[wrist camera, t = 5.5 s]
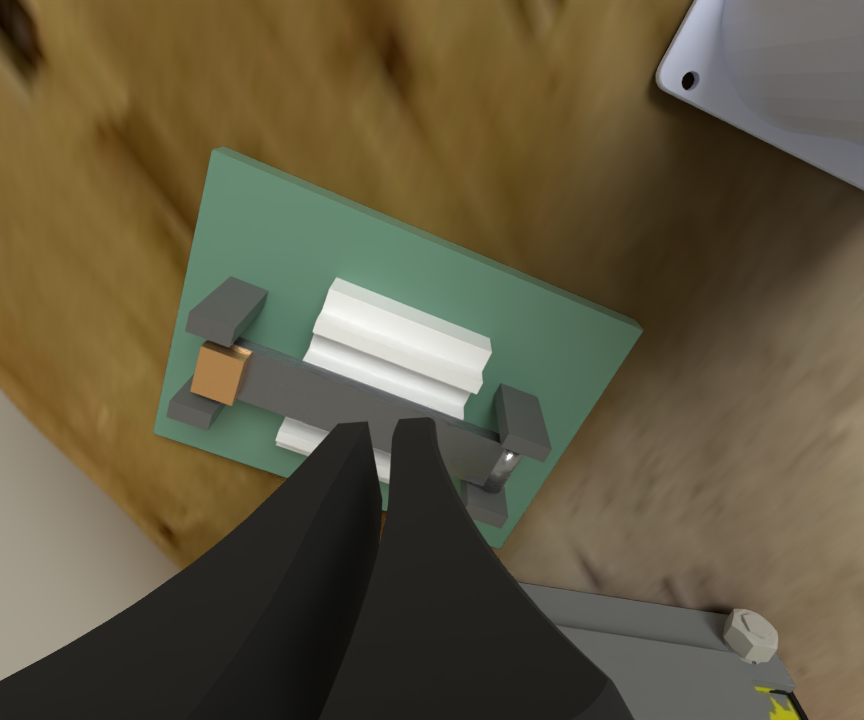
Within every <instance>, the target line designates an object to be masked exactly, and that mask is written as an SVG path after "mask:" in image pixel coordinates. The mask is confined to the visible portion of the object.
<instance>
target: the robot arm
mask: <svg viewBox="0 0 864 720" xmlns="http://www.w3.org/2000/svg"><path fill="white" fill-rule="evenodd" d="M688 72H691V73H692V74H693V75H694V83H693V85H692V86H691V87H690V89H688V90H685V89H684V88H683V87H682V83H681V82H682V79H683V76H684V75H685V74H686V73H688ZM656 83H657V85H658V87H659V88H660V89H661V90H663V91H664V92H666V93H668V94H670V95H672V96H674V97H676V98H678V99H680V100H682V101H684V102H686V103H688V104H690V105H692V106H694V107H696V108H698V109H700V110H702V111H704V112H706V113H708V114H710V115H712V116H715V117H717V118H719V119H721V120H723V121H725V122H727V123H729V124H731V125H733V126H735V127H737V128H739V129H741V130H743V131H745V132H747V133H749V134H751V135H753V136H755V137H757V138H759V139H761V140H763V141H765V142H767V143H769V144H771V145H773V146H775V147H777V148H779V149H781V150H783V151H785V152H787V153H789V154H791V155H793V156H795V157H797V158H799V159H801V160H803V161H805V162H807V163H809V164H811V165H813V166H815V167H817V168H819V169H821V170H823V171H825V172H827V173H829V174H831V175H833V176H835V177H837V178H839V179H841V180H843V181H845V182H847V183H849V184H851V185H853V186H855V187H857V188H859V189H861V190H863V191H864V0H694V1H693V3H692V5H691V7H690V8H689V10H688V12H687V14H686V16H685V18H684V20H683V22H682V23H681V25H680V27H679V29H678V31H677V33H676V35H675V36H674V38H673V40H672V42H671V44H670V46H669V48H668V49H667V51H666V53H665V55H664V57H663V59H662V61H661V63H660V64H659V66H658V69H657V72H656ZM382 502H383V500H382V494H381V489H380V484H379V478H378V473H377V467H376V462H375V457H374V451H373V446H372V441H371V435H370V430H369V424H368V421H365V422H351V423H338V424H337V425H336V426H335V427H334V428H333V430H332V431H331V432H330V433H329V434H328V435H327V436H326V437H325V438H324V439H323V441H322V442H321V443H320V444H319V445H318V446H317V447H316V448H315V449H314V450H313V452H312V453H311V454H310V455H309V456H308V457H307V458H306V459H305V460H304V462H303V463H302V464H301V465H300V466H299V467H298V468H297V469H296V470H295V471H294V472H293V473H292V474H291V475H290V477H289V478H288V479H287V480H286V481H285V482H284V483H283V484H282V485H281V486H280V487H279V488H278V489H277V490H276V491H275V492H274V493H273V494H272V495H271V496H270V497H269V498H267V499H266V500H265V501H264V502H263V503H262V504H261V505H260V506H259V507H258V508H257V509H256V510H255V511H254V512H253V513H252V514H251V515H250V516H249V517H248V518H247V519H246V520H244V521H243V522H242V523H241V524H240V525H239V526H238V527H237V528H235V529H234V530H233V531H232V532H231V533H229V534H228V535H227V536H226V537H225V538H224V539H222V540H221V541H220V542H219V543H217V544H216V545H215V546H214V547H212V548H211V549H210V550H209V551H207V552H206V553H205V554H204V555H202V556H201V557H200V558H199V559H197V560H196V561H195V562H193V563H192V564H191V565H189V566H188V567H186V568H185V569H184V570H182V571H181V572H179V573H178V574H176V575H175V576H174V577H172V578H171V579H169V580H168V581H167V582H165V583H164V584H162V585H161V586H160V587H158V588H157V589H155V590H154V591H152V592H151V593H149V594H148V595H147V596H145V597H144V598H142V599H141V600H139V601H138V602H136V603H135V604H133V605H132V606H130V607H129V608H127V609H126V610H124V611H122V612H121V613H119V614H117V615H116V616H114V617H113V618H111V619H110V620H108V621H106V622H105V623H103V624H102V625H100V626H98V627H96V628H95V629H93V630H91V631H90V632H88V633H86V634H85V635H83V636H81V637H80V638H78V639H76V640H75V641H73V642H71V643H69V644H68V645H66V646H64V647H62V648H61V649H59V650H57V651H55V652H54V653H52V654H50V655H48V656H46V657H44V658H43V659H41V660H39V661H37V662H35V663H33V664H31V665H29V666H27V667H26V668H24V669H22V670H20V671H18V672H16V673H14V674H12V675H11V676H9V677H7V678H5V679H3V680H1V681H0V720H634V718H633V716H632V714H631V712H630V710H629V709H628V707H627V705H626V703H625V702H624V700H623V698H622V696H621V694H620V693H619V691H618V689H617V687H616V686H615V684H614V682H613V681H612V680H611V678H609V677H608V676H607V675H606V674H605V673H604V672H603V671H602V670H601V669H600V668H599V667H598V666H596V665H595V664H594V663H593V662H592V661H591V660H590V659H589V658H588V657H587V656H586V655H585V654H584V653H583V652H581V651H580V650H579V649H578V648H577V647H576V646H575V645H574V644H573V643H572V642H571V641H570V640H569V639H568V638H567V637H566V636H565V635H564V634H563V633H562V632H561V631H560V630H559V629H558V628H557V627H556V625H555V624H554V623H553V622H552V621H551V620H550V619H549V618H548V617H547V616H546V615H545V614H544V613H543V612H542V611H541V610H540V609H539V607H538V606H537V605H536V604H535V603H534V602H533V600H532V599H531V598H530V597H529V596H528V594H527V593H526V592H525V591H524V590H523V588H522V587H521V586H520V585H519V584H518V582H517V581H516V580H515V579H514V578H513V577H512V575H511V574H510V573H509V572H508V571H507V569H506V568H505V567H504V565H503V564H502V563H501V561H500V560H499V558H498V557H497V556H496V554H495V553H494V552H493V550H492V549H491V548H490V546H489V545H488V543H487V542H486V540H485V539H484V537H483V536H482V534H481V533H480V531H479V530H478V528H477V526H476V525H475V523H474V522H473V520H472V518H471V516H470V515H469V513H468V511H467V510H466V508H465V506H464V504H463V502H462V500H461V499H460V497H459V495H458V493H457V491H456V489H455V487H454V485H453V483H452V480H451V478H450V476H449V473H448V471H447V469H446V466H445V464H444V462H443V459H442V456H441V453H440V450H439V447H438V440H437V431H436V423H435V421H434V420H433V419H431V418H430V417H421V418H407V419H399V420H398V422H397V425H396V427H395V430H394V433H393V436H392V446H391V461H390V478H389V495H388V507H387V514H386V521H385V525H384V529H383V533H382V537H381V541H380V545H379V540H380V529H381V516H382ZM378 548H379V549H378ZM377 553H378V554H377Z"/></svg>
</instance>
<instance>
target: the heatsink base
mask: <svg viewBox="0 0 864 720" xmlns="http://www.w3.org/2000/svg"><path fill="white" fill-rule="evenodd" d="M643 331H644V330H643V329H642V328H641V326H640V325H639V324H638V323H637V321H636V320H634V319H632V318H630V317H627V316H625V315H623V314H620V313H618V312H616V311H613V310H611V309H608V308H606V307H604V306H601V305H599V304H597V303H594V302H592V301H589V300H587V299H585V298H582V297H580V296H578V295H575V294H573V293H570V292H568V291H566V290H563V289H561V288H559V287H556V286H554V285H551V284H549V283H547V282H544V281H542V280H540V279H537V278H535V277H532V276H530V275H528V274H525V273H523V272H521V271H518V270H516V269H513V268H511V267H509V266H506V265H504V264H502V263H499V262H497V261H495V260H492V259H490V258H487V257H485V256H483V255H480V254H478V253H476V252H473V251H471V250H468V249H466V248H464V247H461V246H459V245H457V244H454V243H452V242H449V241H447V240H445V239H442V238H440V237H438V236H435V235H433V234H430V233H428V232H426V231H423V230H421V229H419V228H416V227H414V226H411V225H409V224H407V223H404V222H402V221H400V220H397V219H395V218H393V217H390V216H388V215H385V214H383V213H381V212H378V211H376V210H374V209H371V208H369V207H366V206H364V205H362V204H359V203H357V202H355V201H352V200H350V199H347V198H345V197H343V196H340V195H338V194H336V193H333V192H331V191H328V190H326V189H324V188H321V187H319V186H317V185H314V184H312V183H309V182H307V181H305V180H302V179H300V178H298V177H295V176H293V175H290V174H288V173H286V172H283V171H281V170H279V169H276V168H274V167H272V166H269V165H267V164H264V163H262V162H260V161H257V160H255V159H253V158H250V157H248V156H245V155H243V154H241V153H238V152H236V151H234V150H231V149H229V148H226V147H220V148H216V149H212V153H211V158H210V162H209V167H208V172H207V177H206V182H205V186H204V191H203V196H202V201H201V206H200V210H199V215H198V220H197V225H196V230H195V234H194V239H193V244H192V249H191V254H190V258H189V263H188V268H187V273H186V278H185V282H184V287H183V292H182V297H181V301H180V306H179V311H178V316H177V321H176V325H175V330H174V335H173V340H172V345H171V349H170V354H169V359H168V364H167V369H166V373H165V378H164V383H163V388H162V393H161V397H160V402H159V407H158V412H157V417H156V421H155V426H154V431H153V433H154V434H157V435H160V436H163V437H166V438H169V439H172V440H175V441H178V442H181V443H184V444H187V445H190V446H193V447H196V448H199V449H202V450H205V451H208V452H211V453H214V454H217V455H220V456H223V457H226V458H229V459H232V460H235V461H238V462H241V463H244V464H247V465H250V466H253V467H256V468H259V469H262V470H265V471H268V472H271V473H274V474H277V475H280V476H283V477H286V478H289V477H290V475H291V474H292V473H293V472H294V471H295V470H296V469H297V468H298V467H299V466H300V465H301V464H302V463H303V462H304V460H305V459H306V458H307V457H308V456H309V455H310V454H311V453H312V452H313V450H314V449H315V448H316V447H317V446H318V445H319V444H320V443H321V442H322V441H323V439H324V438H325V437H326V436H327V435H328V434H329V433H330V432H328V431H325V430H323V429H320V428H317V427H314V426H311V425H309V424H306V423H303V422H300V421H297V420H295V419H292V418H289V417H286V416H283V415H281V414H278V413H275V412H272V411H269V410H267V409H264V408H261V407H258V406H255V405H253V404H250V403H247V402H244V401H241V400H239V399H236V401H235V402H234V403H233V405H232V406H230V405H227V404H224V403H222V402H219V401H216V400H213V399H210V398H207V397H205V396H202V395H199V394H196V393H193V392H191V391H190V390H191V386H192V382H193V377H194V373H195V369H196V365H197V361H198V356H199V352H200V348H201V346H202V345H203V344H204V342H205V341H206V340H210V341H213V342H215V343H218V344H221V345H224V346H226V347H229V348H230V347H231V346H232V344H233V343H234V342H235V341H236V340H237V339H238V337H242V338H244V339H247V340H250V341H252V342H255V343H258V344H260V345H263V346H266V347H268V348H271V349H274V350H276V351H279V352H282V353H284V354H287V355H290V356H292V357H295V358H298V359H300V360H303V361H306V362H308V363H311V364H314V365H316V366H319V367H322V368H325V369H327V370H330V371H333V372H335V373H338V374H341V375H343V376H346V377H349V378H351V379H354V380H357V381H359V382H362V383H365V384H367V385H370V386H373V387H375V388H378V389H381V390H383V391H386V392H389V393H391V394H394V395H397V396H399V397H402V398H405V399H407V400H410V401H413V402H415V403H418V404H421V405H423V406H426V407H429V408H431V409H434V410H437V411H439V412H442V413H445V414H448V415H450V416H453V417H456V418H458V419H461V420H464V421H466V422H469V423H472V424H474V425H477V426H480V427H482V428H485V429H488V430H490V431H493V432H496V433H498V434H499V435H500V442H501V447H502V448H505V449H508V450H510V451H513V452H516V453H519V454H521V455H523V456H522V458H521V459H520V461H519V463H518V464H517V466H516V467H515V469H514V471H513V472H512V474H511V476H510V477H509V479H508V480H507V482H506V484H505V485H504V487H503V489H502V490H501V492H499V493H492V492H489V491H487V490H486V489H485V488H484V487H482V486H479V485H477V484H474V483H471V482H468V481H465V480H463V479H460V478H457V477H454V476H451V475H449V476H450V478H451V480H452V483H453V485H454V487H455V489H456V491H457V493H458V495H459V497H460V499H461V500H462V502H463V504H464V506H465V508H466V510H467V511H468V513H469V515H470V516H471V518H472V520H473V522H474V523H475V525H476V526H477V528H478V530H479V531H480V533H481V534H482V536H483V537H484V539H485V540H486V542H487V543H488V545H489V546H492V547H495V548H498V549H500V548H501V547H502V545H503V544H504V542H505V541H506V539H507V538H508V536H509V535H510V533H511V532H512V530H513V528H514V527H515V525H516V524H517V522H518V521H519V519H520V518H521V516H522V515H523V513H524V512H525V510H526V509H527V507H528V506H529V504H530V503H531V501H532V500H533V498H534V497H535V495H536V493H537V492H538V490H539V489H540V487H541V486H542V484H543V483H544V481H545V480H546V478H547V477H548V475H549V474H550V472H551V471H552V469H553V468H554V466H555V465H556V463H557V462H558V460H559V458H560V457H561V455H562V454H563V452H564V451H565V449H566V448H567V446H568V445H569V443H570V442H571V440H572V439H573V437H574V436H575V434H576V433H577V431H578V430H579V428H580V427H581V425H582V424H583V422H584V420H585V419H586V417H587V416H588V414H589V413H590V411H591V410H592V408H593V407H594V405H595V404H596V402H597V401H598V399H599V398H600V396H601V395H602V393H603V392H604V390H605V389H606V387H607V385H608V384H609V382H610V381H611V379H612V378H613V376H614V375H615V373H616V372H617V370H618V369H619V367H620V366H621V364H622V363H623V361H624V360H625V358H626V357H627V355H628V354H629V352H630V350H631V349H632V347H633V346H634V344H635V343H636V341H637V340H638V338H639V337H640V335H641V334H642V332H643ZM373 451H374V457H375V462H376V467H377V473H378V478H379V484H380V489H381V494H382V500H383V502H382V510H384V511H387V507H388V495H389V478H390V461H391V454H390V453H387V452H384V451H381V450H379V449H376V448H373Z"/></svg>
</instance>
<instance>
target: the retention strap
mask: <svg viewBox="0 0 864 720" xmlns="http://www.w3.org/2000/svg"><path fill="white" fill-rule="evenodd" d="M190 391H191V392H193V393H196V394H199V395H202V396H205V397H207V398H210V399H213V400H216V401H219V402H222V403H224V404H227V405H230V406H232V405H233V403H234V402H235V401H236V399H239V400H241V401H244V402H247V403H250V404H253V405H255V406H258V407H261V408H264V409H267V410H269V411H272V412H275V413H278V414H281V415H283V416H286V417H289V418H292V419H295V420H297V421H300V422H303V423H306V424H309V425H311V426H314V427H317V428H320V429H323V430H325V431H328V432H331V431H332V430H333V428H334V427H335V426H336V425H337V424H338V423H351V422H365V421H368V424H369V430H370V435H371V441H372V446H373V448H376V449H379V450H381V451H384V452H387V453H390V454H391V446H392V436H393V433H394V430H395V427H396V425H397V422H398V420H399V419H407V418H421V417H430V418H431V419H433V420H434V421H435V423H436V431H437V440H438V447H439V450H440V453H441V456H442V459H443V462H444V464H445V466H446V469H447V471H448V473H449V475H451V476H454V477H457V478H460V479H463V480H465V481H468V482H471V483H474V484H477V485H479V486H482V487H484V488H485V489H486V490H487V491H489V492H492V493H499V492H501V490H502V489H503V487H504V485H505V484H506V482H507V480H508V479H509V477H510V476H511V474H512V472H513V471H514V469H515V467H516V466H517V464H518V463H519V461H520V459H521V458H522V456H523V455H521V454H519V453H516V452H513V451H510V450H508V449H505V448H502V447H501V442H500V435H499V434H498V433H496V432H493V431H490V430H488V429H485V428H482V427H480V426H477V425H474V424H472V423H469V422H466V421H464V420H461V419H458V418H456V417H453V416H450V415H448V414H445V413H442V412H439V411H437V410H434V409H431V408H429V407H426V406H423V405H421V404H418V403H415V402H413V401H410V400H407V399H405V398H402V397H399V396H397V395H394V394H391V393H389V392H386V391H383V390H381V389H378V388H375V387H373V386H370V385H367V384H365V383H362V382H359V381H357V380H354V379H351V378H349V377H346V376H343V375H341V374H338V373H335V372H333V371H330V370H327V369H325V368H322V367H319V366H316V365H314V364H311V363H308V362H306V361H303V360H300V359H298V358H295V357H292V356H290V355H287V354H284V353H282V352H279V351H276V350H274V349H271V348H268V347H266V346H263V345H260V344H258V343H255V342H252V341H250V340H247V339H244V338H242V337H238V339H237V340H236V341H235V342H234V343H233V344H232V346H231V347H230V348H229V347H226V346H224V345H221V344H218V343H215V342H213V341H210V340H206V341H205V342H204V344H203V345H202V346H201V348H200V352H199V356H198V361H197V365H196V369H195V373H194V377H193V382H192V386H191V390H190Z"/></svg>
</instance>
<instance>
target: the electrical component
mask: <svg viewBox="0 0 864 720" xmlns="http://www.w3.org/2000/svg"><path fill="white" fill-rule="evenodd" d="M518 584H519V585H520V586H521V587H522V588H523V590H524V591H525V592H526V593H527V594H528V596H529V597H530V598H531V599H532V600H533V602H534V603H535V604H536V605H537V606H538V607H539V609H540V610H541V611H542V612H543V613H544V614H545V615H546V616H547V617H548V618H549V619H550V620H551V621H552V622H553V623H554V624H555V625H556V627H557V628H558V629H559V630H560V631H561V632H562V633H563V634H564V635H565V636H566V637H567V638H568V639H569V640H570V641H571V642H572V643H573V644H574V645H575V646H576V647H577V648H578V649H579V650H580V651H581V652H583V653H584V654H585V655H586V656H587V657H588V658H589V659H590V660H591V661H592V662H593V663H594V664H595V665H596V666H598V667H599V668H600V669H601V670H602V671H603V672H604V673H605V674H606V675H607V676H608V677H609V678H611V680H612V681H613V682H614V684H615V686H616V687H617V689H618V691H619V693H620V694H621V696H622V698H623V700H624V702H625V703H626V705H627V707H628V709H629V710H630V712H631V714H632V716H633V718H634V720H808V718H807V716H806V714H805V712H804V711H803V709H802V707H801V705H800V704H799V702H798V700H797V698H796V696H795V695H794V693H793V690H794V689H795V687H796V685H795V684H794V682H793V680H792V678H791V677H790V675H789V673H788V671H787V670H786V668H785V666H784V664H783V663H782V661H781V659H780V658H779V656H778V654H777V652H776V651H777V647H778V633H777V631H776V630H775V629H774V627H773V626H772V625H771V624H770V623H769V621H767V620H766V619H765V618H763V617H762V616H760V615H759V614H758V613H756V612H754V611H750V610H746V609H733V610H732V612H731V614H730V615H724V614H718V613H711V612H705V611H698V610H692V609H686V608H679V607H673V606H666V605H660V604H653V603H647V602H641V601H634V600H628V599H621V598H615V597H608V596H602V595H596V594H589V593H583V592H576V591H570V590H564V589H557V588H551V587H544V586H538V585H531V584H525V583H519V582H518Z"/></svg>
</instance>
